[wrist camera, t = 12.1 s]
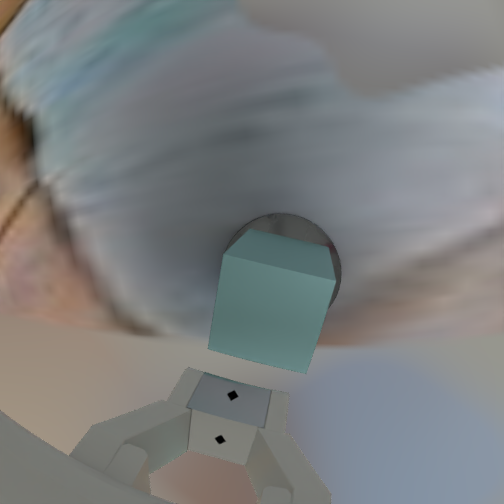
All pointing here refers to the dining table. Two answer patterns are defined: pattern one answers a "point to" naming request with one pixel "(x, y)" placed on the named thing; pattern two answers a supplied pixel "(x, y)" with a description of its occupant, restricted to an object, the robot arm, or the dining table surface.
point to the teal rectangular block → (272, 300)
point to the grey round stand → (295, 236)
